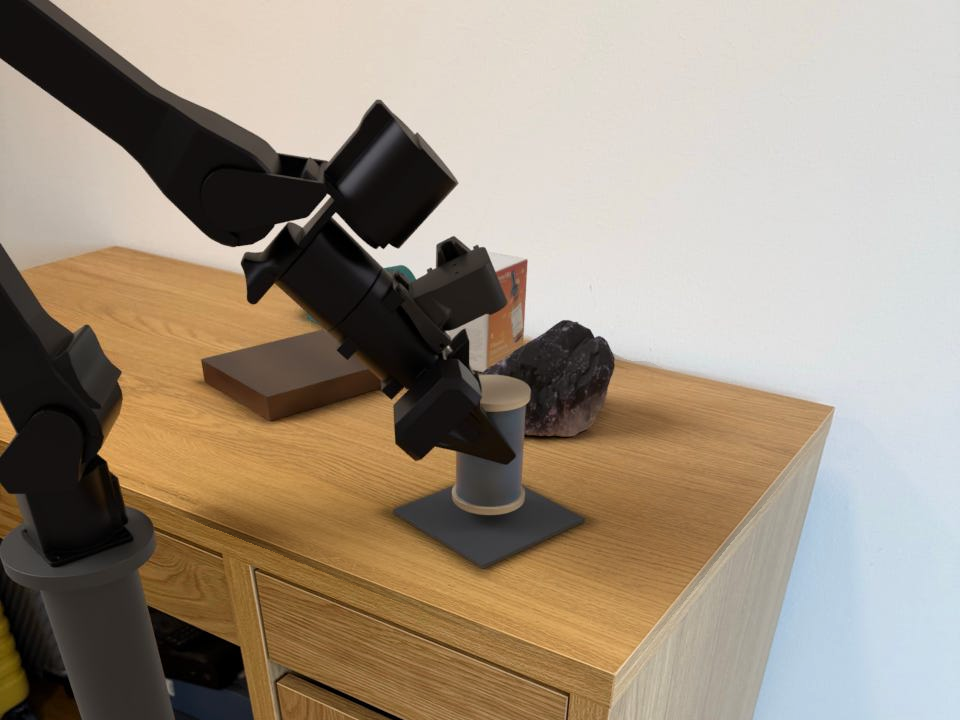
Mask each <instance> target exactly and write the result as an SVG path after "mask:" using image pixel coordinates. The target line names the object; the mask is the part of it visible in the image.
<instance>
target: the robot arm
mask: <svg viewBox="0 0 960 720" xmlns="http://www.w3.org/2000/svg"><path fill="white" fill-rule="evenodd" d="M0 60H2V61H3V62H4V63H6V64H7V65H8V66H10V67H11V68H13V69H14V70H15V71H17V72H19V73H20V74H21V75H22V76H24V77H25V78H26V79H28V80H29V81H30V82H32V83H33V84H34V85H36V86H38V87H39V88H40V89H41V90H42V91H44V92H46V93H47V94H49V95H50V96H51V97H53V98H54V99H55V100H57V102H59V103H61V104H62V105H64V106H65V107H66V108H68V109H69V110H70V111H72V113H75V114H76V115H77V116H79V117H80V118H81V119H83V120H84V121H86V122H87V123H88V124H90V125H91V126H92V127H94V128H95V129H96V130H98V131H99V132H100V133H102V134H103V135H105V136H106V137H107V138H109V139H110V140H111V141H113V142H114V143H115V144H117V145H119V146H120V147H121V148H122V149H123V150H125V152H127V153H128V155H130V156H131V157H132V159H134V161H136V162H137V164H139V166H141V168H142V169H143V170H144V172H145V173H146V174H147V175H148V177H149V178H150V179H151V181H152V182H153V183H154V184H155V186H156V187H157V188H158V190H159V191H160V192H161V193H162V194H163V195H164V197H165V198H166V199H167V200H168V201H169V202H171V203H172V204H173V205H174V206H175V208H177V210H179V211H180V213H182V214H183V215H184V216H185V217H186V218H187V219H188V220H189V221H190V222H191V223H192V224H193V225H194V226H195V227H196V228H197V229H199V231H200V232H201V233H202V234H204V235H205V236H206V237H207V238H209V239H210V240H212V241H213V242H216V243H218V244H219V245H222V246H225V247H229V248H237V247H244V246H251V245H254V244H256V243H258V242H260V241H262V240H264V239H265V238H266V237H267V236H268V235H269V234H270V233H271V231H272V230H274V228H275V226H276V225H278V224H279V225H280V224H284V223H286V224H285V225H284V226H283V227H282V228H281V230H280V231H279V232H278V233H277V235H276V236H275V237H274V238H273V239H272V240H271V241H270V243H269V244H268V245H267V246H266V247H265V248H264V250H263V251H258V252H251V251H246V252H244V253H243V255H242V258H241V260H240V266H241V269H242V271H243V274H244V278H245V283H246V284H245V285H246V301H247V303H249V304H250V305H257V304H258V303H259V302H260V301H261V300H262V299H263V297H264V296H265V295H266V294H267V293H268V292H269V290H270V289H271V288H272V287H273V286H274V285H276V286H277V287H278V288H279V289H280V290H281V291H282V292H283V293H285V294H286V296H287V297H289V298H290V299H291V300H292V301H293V302H295V304H297V306H299V307H300V308H301V309H302V310H303V311H304V312H306V314H307V313H308V314H309V315H310V316H311V317H312V318H313V319H314V320H315V321H317V322H318V323H319V324H320V325H319V324H318V325H319V326H321V327H322V328H323V330H325V331H327V332H329V333H330V334H331V335H332V336H333V337H334V338H335V339H336V340H337V348H336V350H337V351H338V352H339V353H340V354H341V355H342V356H343V357H344V358H346V359H347V360H348V359H349V358H350V357H351V356H352V355H354V356H355V357H356V358H357V359H358V360H359V361H360V362H362V363H363V364H364V365H365V366H366V367H367V368H368V369H369V370H370V371H371V372H373V373H374V374H375V375H376V376H377V377H378V378H379V379H380V380H381V388H380V391H381V392H382V393H383V394H384V395H385V396H386V397H388V399H390V401H391V400H393V399H395V397H397V395H398V394H400V392H401V391H402V390H403V389H406V391H405V392H404V393H403V394H402V395H401V397H399V399H397V400H396V402H395V403H393V404H392V409H393V412H392V413H393V429H394V430H393V431H394V444H395V445H396V446H397V447H398V448H399V449H400V450H402V451H403V452H404V453H405V454H406V455H408V457H410V458H411V459H412V460H413V461H414V462H418V461H422V460H423V459H424V458H425V457H426V456H428V454H429V453H430V452H431V451H432V450H433V449H434V448H438V449H443V450H449V451H453V452H456V451H457V452H461V453H464V454H468V455H472V456H475V457H479V458H482V459H486V460H490V461H493V462H497V463H500V464H504V465H508V464H509V463H510V462H511V461H512V460H514V459H515V458H516V453H515V451H514V450H513V448H512V447H511V446H510V444H509V443H508V441H507V440H506V439H505V437H504V436H503V434H502V433H501V432H500V430H499V429H498V428H497V426H496V425H495V424H494V422H493V421H492V419H491V418H490V417H489V415H488V414H487V413H486V411H485V410H484V409H483V407H482V406H481V404H480V400H481V398H482V395H481V393H482V386H481V382H480V378H479V375H480V374H479V371H475V370H473V369H472V368H471V366H470V364H469V344H470V343H469V338H468V335H467V331H466V329H462V330H461V331H460V332H459V333H458V334H457V335H456V336H455V337H454V338H453V339H452V340H451V337H450V336H449V335H448V334H447V333H446V331H450V330H454V329H456V328H458V327H460V326H462V325H465V324H467V323H469V322H471V321H473V320H475V319H477V318H479V317H481V316H483V315H485V314H489V315H492V314H494V313H496V312H498V311H500V310H501V309H503V308H504V307H505V306H506V305H507V303H508V301H507V298H506V296H505V293H504V291H503V288H502V286H501V284H500V281H499V279H498V276H497V274H496V272H495V269H494V267H493V264H492V262H491V260H490V257H489V255H488V252H489V251H488V250H487V248H486V247H485V246H479V244H475V245H473V246H472V249H471V248H470V247H469V246H467V245H466V244H465V243H464V242H462V241H461V240H460V239H459V238H457V237H456V236H455V235H452V236H450V237H448V238H446V239H444V240H442V241H440V242H438V243H437V244H436V247H435V268H433V267H429V268H427V269H426V273H425V274H424V275H422V276H420V277H418V278H416V280H414V281H413V282H411V281H410V280H409V279H408V278H407V277H406V276H405V275H404V274H403V273H402V272H401V271H400V270H398V271H397V272H395V271H394V270H393V269H391V270H390V271H389V272H387V271H386V270H385V269H384V268H385V267H383V266H382V265H381V264H380V263H379V262H378V261H377V260H376V259H375V258H374V257H373V256H372V255H371V254H370V253H369V252H368V251H367V250H366V249H365V248H364V247H363V246H362V245H361V244H360V243H359V242H358V241H357V240H356V239H355V238H354V237H353V236H352V235H351V234H350V233H349V232H348V231H347V230H346V229H345V228H344V227H343V226H342V225H341V224H339V223H340V222H338V221H337V220H336V219H335V218H333V216H335V214H336V215H338V216H339V218H341V220H342V221H344V223H345V224H346V225H347V226H348V227H349V228H350V230H351V231H352V232H353V233H355V235H356V236H357V237H359V238H360V239H361V240H362V241H363V242H364V243H365V244H366V245H367V246H369V247H371V248H372V249H374V250H378V249H379V248H381V249H382V250H385V249H386V248H387V247H388V245H390V246H391V247H393V248H395V249H400V248H401V247H402V246H403V245H404V244H405V243H406V242H407V241H408V240H409V239H410V237H411V236H412V235H413V234H414V233H415V232H416V231H417V230H418V229H419V227H420V226H421V225H422V224H423V223H424V222H425V221H426V220H427V219H428V218H429V217H430V215H431V214H433V212H434V211H436V209H437V208H438V207H439V206H440V205H441V204H442V203H443V201H445V199H446V198H447V197H448V196H449V195H450V194H451V193H452V192H453V190H454V189H455V188H456V187H457V186H458V185H459V183H460V182H459V181H458V179H457V178H456V176H455V175H454V173H453V172H452V171H451V169H449V167H448V165H447V164H446V163H445V162H444V161H443V160H442V158H441V157H440V156H439V154H438V153H436V151H435V150H434V149H433V148H432V146H431V145H430V144H429V143H428V142H427V141H426V140H425V138H424V137H423V136H421V134H420V133H419V132H418V131H416V133H415V132H413V130H411V129H410V127H409V126H408V125H407V124H406V123H405V122H404V121H403V120H402V119H401V118H400V117H398V116H397V115H396V113H394V112H393V111H392V110H391V109H390V108H389V107H388V106H387V105H386V104H385V102H384V101H383V100H382V99H375V101H374V102H373V103H372V104H371V105H370V107H368V109H366V111H365V113H364V114H363V116H362V117H361V120H360V122H359V124H358V126H357V127H356V129H355V130H354V131H353V132H352V133H351V135H350V136H348V138H347V139H346V141H345V142H344V143H343V144H342V145H341V146H340V148H339V149H338V150H337V151H336V152H335V153H334V154H333V156H332V157H331V158H330V159H329V160H324V159H318V158H313V157H311V156H309V157H307V156H299V155H294V154H288V153H281V152H277V151H276V150H275V149H274V148H273V146H271V144H269V142H268V141H266V140H265V139H263V138H262V137H261V136H259V135H257V134H256V133H254V132H252V131H250V130H248V129H247V128H245V127H243V126H241V125H239V124H237V123H236V122H234V121H232V120H230V119H228V118H226V117H225V116H223V115H221V114H220V113H217V112H216V111H213V110H211V109H209V108H207V107H204V106H202V105H200V104H197V103H195V102H193V101H190V100H188V99H186V98H183V97H181V96H180V95H177V94H176V93H174V92H172V91H170V90H168V89H167V88H165V87H163V86H162V85H160V84H158V83H157V82H155V80H153V79H152V78H151V77H150V76H148V75H147V74H146V73H144V72H143V71H142V70H140V69H139V68H138V67H136V66H135V65H134V64H133V63H131V62H130V61H128V60H127V59H126V58H125V57H123V55H121V54H120V53H119V52H117V51H116V50H114V49H113V48H112V47H111V46H109V45H108V44H107V43H105V42H104V41H103V40H102V39H100V38H99V37H97V36H96V35H95V34H94V33H92V32H91V31H90V30H88V28H86V27H84V25H82V24H81V23H80V22H78V21H77V20H76V19H74V18H73V17H72V16H71V15H69V14H68V13H66V12H65V11H64V10H62V8H60V7H58V6H57V5H56V4H55V3H53V2H52V1H51V0H0ZM327 195H328V196H330V197H329V198H328V199H327V200H326V202H324V203H323V205H322V206H321V207H320V208H319V210H318V211H316V213H315V214H314V215H313V216H312V217H311V218H310V219H309V220H308V221H307V222H306V223H305V225H303V227H302V226H301V225H300V224H297V223H295V221H298V220H303V219H306V218H308V217H310V216H311V214H312V213H313V212H314V211H315V210H316V208H317V207H318V206H319V205H320V204H321V203H322V202H323V200H324V199H325V198H326V197H327ZM293 221H294V222H293ZM487 251H488V252H487ZM122 374H123V371H122V370H121V369H120V368H119V367H118V366H116V365H115V364H114V363H112V361H111V360H110V359H109V358H108V356H107V355H106V354H105V351H104V350H103V348H102V346H101V343H100V341H99V339H98V336H97V335H96V332H95V331H94V330H93V328H92V326H91V325H90V324H84V325H82V326H81V327H80V328H78V329H76V330H75V331H74V332H72V331H71V330H69V329H68V328H67V327H65V326H64V325H63V324H62V323H61V322H59V321H58V320H56V319H55V318H54V317H52V316H51V315H50V314H49V313H48V312H47V311H46V310H45V309H44V307H43V305H42V304H41V302H40V301H39V299H38V298H37V296H36V295H35V293H34V292H33V290H32V288H31V287H30V286H29V284H28V283H27V280H25V277H24V276H23V275H22V273H21V272H20V270H19V269H18V267H17V266H16V264H15V263H14V261H13V259H12V258H11V257H10V255H9V254H8V252H7V251H6V249H5V248H4V245H2V243H1V242H0V405H1V406H2V409H3V410H4V413H5V414H6V417H7V418H8V420H9V422H10V425H12V428H13V430H14V431H15V433H16V434H15V435H14V436H13V437H12V439H11V440H10V442H9V443H8V444H7V446H6V447H5V448H4V450H2V451H3V452H2V453H1V454H0V485H1V486H2V487H3V489H4V490H5V491H6V493H7V494H9V495H14V496H15V499H16V502H17V505H18V508H19V511H20V514H21V517H22V520H23V522H24V524H25V527H26V528H25V529H23V530H21V534H22V537H23V538H24V539H25V540H26V541H27V542H28V543H29V545H30V546H31V547H32V548H33V549H34V550H35V551H36V552H37V553H38V554H39V555H40V556H41V557H42V558H43V559H44V560H45V561H46V562H47V564H48V565H49V566H50V567H54V568H55V567H60V566H63V565H66V564H69V563H72V562H74V561H77V560H80V559H83V558H86V557H89V556H92V555H95V554H98V553H100V552H103V551H106V550H109V549H112V548H115V547H118V546H121V545H123V544H126V543H129V542H132V541H133V540H134V537H133V534H132V533H131V532H130V531H129V530H128V529H127V528H126V527H125V526H124V525H126V524H127V523H128V516H127V512H126V508H125V506H126V505H125V501H124V496H123V492H122V488H121V484H120V480H119V477H118V476H117V475H116V474H114V472H112V471H111V470H110V468H109V464H108V461H107V460H106V459H105V458H103V457H102V456H100V454H98V453H99V452H100V451H101V449H103V448H102V447H103V446H104V444H105V443H106V440H107V438H108V436H109V435H110V433H111V431H112V429H113V427H114V426H115V424H116V421H117V420H118V418H119V416H120V415H121V414H120V413H121V409H122V407H123V400H124V396H123V391H122V388H121V386H120V383H119V379H120V377H121V375H122Z"/></svg>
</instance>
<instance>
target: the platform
mask: <svg viewBox="0 0 960 720" xmlns="http://www.w3.org/2000/svg"><path fill="white" fill-rule="evenodd" d="M336 348H337V340H336V339H335V338H334V337H333V336H332V335H331V334H330V333H329V332H327V331H326V330H325V329H318V330H314V331H310V332H306V333H301V334H298V335H293V336H290V337H285V338H282V339H278V340H274V341H269V342H264V343H262V344H257V345H253V346H249V347H245V348H241V349H237V350H233V351H228V352H223V353H221V354H217V355H216V354H215V355H211V356H208V357H204V358H201V359H200V362H201V363H200V364H201V368H202V374H203V375H202V376H203V380H204V383H205V384H207V385H209V386H211V387H212V388H214V389H215V390H217V391H219V392H221V393H222V394H224V395H225V396H227V397H229V398H230V399H232V400H234V401H236V402H237V403H238V404H241V405H242V406H244V407H246V408H247V409H249V410H251V411H252V412H253V413H256V414H257V415H259V416H261V417H262V418H264V419H266V420H267V421H269V422H272V421H275V420H280V419H282V418H286V417H289V416H292V415H296V414H300V413H303V412H305V411H309V410H313V409H315V408H319V407H323V406H326V405H329V404H332V403H336V402H339V401H342V400H346V399H350V398H353V397H357V396H359V395H363V394H367V393H370V392H372V391H373V392H374V391H376V390H379V389H380V390H381V380H380V379H379V378H378V377H377V376H376V375H375V374H374V373H373V372H371V371H370V370H369V369H368V368H367V367H366V366H365V365H364V364H363V363H362V362H360V361H359V360H358V359H357V358H356V357H355V356H354V355H352V356H351V357H350V358H349V359H348V360H347V359H346V358H344V357H343V356H342V355H341V354H340V353H339V352H338V351H337V350H336Z"/></svg>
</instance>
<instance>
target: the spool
mask: <svg viewBox="0 0 960 720" xmlns="http://www.w3.org/2000/svg"><path fill="white" fill-rule="evenodd" d="M478 375H479V378H480V382H481V386H482V393H481V395H482V398H481V400H480V404H481V406H482V407H483V409H484V410H485V411H486V413H487V414H488V415H489V417H490V418H491V419H492V421H493V422H494V424H495V425H496V426H497V428H498V429H499V430H500V432H501V433H502V434H503V436H504V437H505V439H506V440H507V441H508V443H509V444H510V446H511V447H512V448H513V450H514V451H515V453H516V458H515V459H514V460H512V461H511V462H510V463H509V464H508V465H504V464H500V463H497V462H493V461H490V460H486V459H482V458H479V457H475V456H472V455H468V454H464V453H461V452H457V451H455V484H453V486H454V487H453V489H452V499H453V502H454V503H455V504H456V505H457V506H458V507H459V508H461V509H463V510H465V511H467V512H470V513H474V514H480V515H500V514H505V513H509V512H512V511H514V510H516V509H518V508H519V507H521V505H522V504H523V503H524V500H525V490H524V488H523V487H522V486H523V485H522V484H523V465H524V448H525V434H524V431H525V413H526V404H527V403H528V402H529V400H530V395H531V389H530V387H529V386H528V385H527V384H526V383H525V382H523V381H521V380H519V379H516V378H513V377H508V376H503V375H481V374H478Z"/></svg>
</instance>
